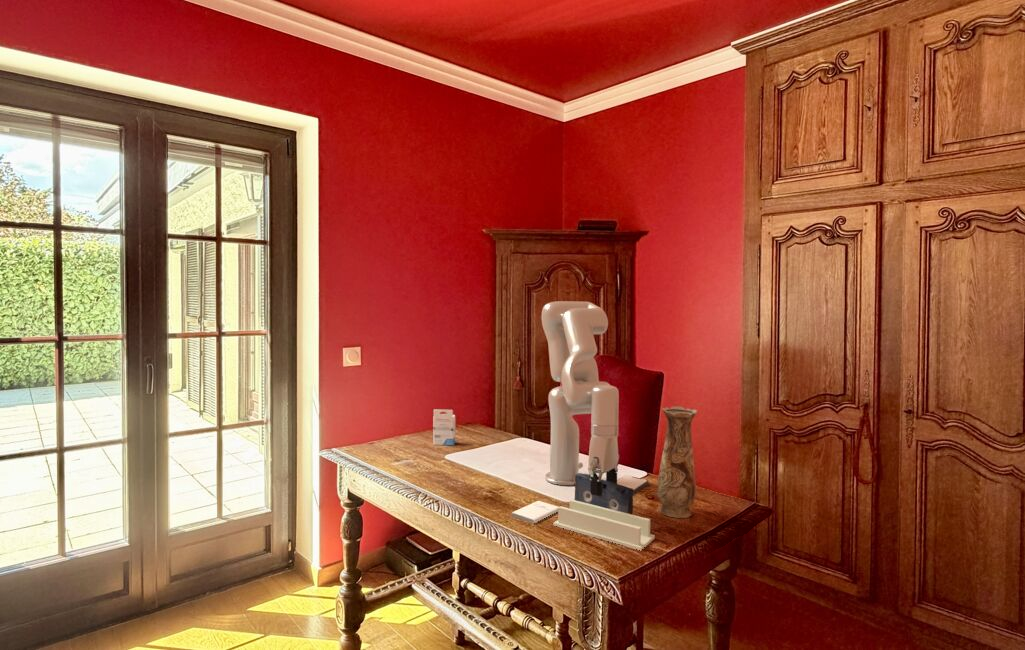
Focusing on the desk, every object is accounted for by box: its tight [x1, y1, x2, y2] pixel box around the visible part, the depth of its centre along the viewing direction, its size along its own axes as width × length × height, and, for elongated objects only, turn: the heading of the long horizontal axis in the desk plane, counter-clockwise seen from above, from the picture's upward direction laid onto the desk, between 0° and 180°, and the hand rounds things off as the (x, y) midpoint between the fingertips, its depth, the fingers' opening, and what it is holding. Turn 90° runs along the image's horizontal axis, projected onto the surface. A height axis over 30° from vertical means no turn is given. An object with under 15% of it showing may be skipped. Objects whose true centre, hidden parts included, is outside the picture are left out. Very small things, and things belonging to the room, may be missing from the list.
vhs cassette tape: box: [574, 472, 634, 515], centre depth 160 cm, size 18×3×10 cm, turn 44°
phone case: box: [617, 475, 649, 495], centre depth 183 cm, size 9×2×16 cm
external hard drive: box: [510, 500, 559, 525], centre depth 161 cm, size 2×8×12 cm
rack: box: [552, 499, 656, 552], centre depth 149 cm, size 9×25×5 cm, turn 55°
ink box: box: [432, 408, 456, 446], centre depth 232 cm, size 8×5×15 cm, turn 85°
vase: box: [657, 405, 698, 519], centre depth 162 cm, size 10×11×30 cm
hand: (604, 490), depth 159 cm, fingers open, 9 cm apart
